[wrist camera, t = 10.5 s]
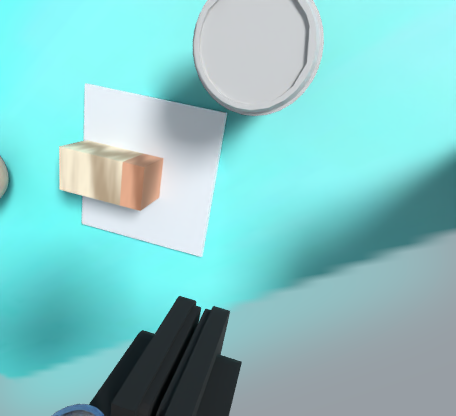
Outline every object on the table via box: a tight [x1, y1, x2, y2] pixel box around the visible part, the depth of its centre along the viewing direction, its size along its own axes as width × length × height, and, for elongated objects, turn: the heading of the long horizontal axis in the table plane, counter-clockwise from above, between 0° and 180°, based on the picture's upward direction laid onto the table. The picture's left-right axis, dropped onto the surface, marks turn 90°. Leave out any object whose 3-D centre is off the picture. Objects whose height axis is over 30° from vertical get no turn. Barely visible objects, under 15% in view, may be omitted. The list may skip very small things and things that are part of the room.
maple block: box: [59, 140, 164, 211], centre depth 39 cm, size 5×5×10 cm
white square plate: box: [82, 84, 227, 257], centre depth 41 cm, size 17×18×1 cm
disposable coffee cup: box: [193, 0, 324, 116], centre depth 29 cm, size 10×10×12 cm
